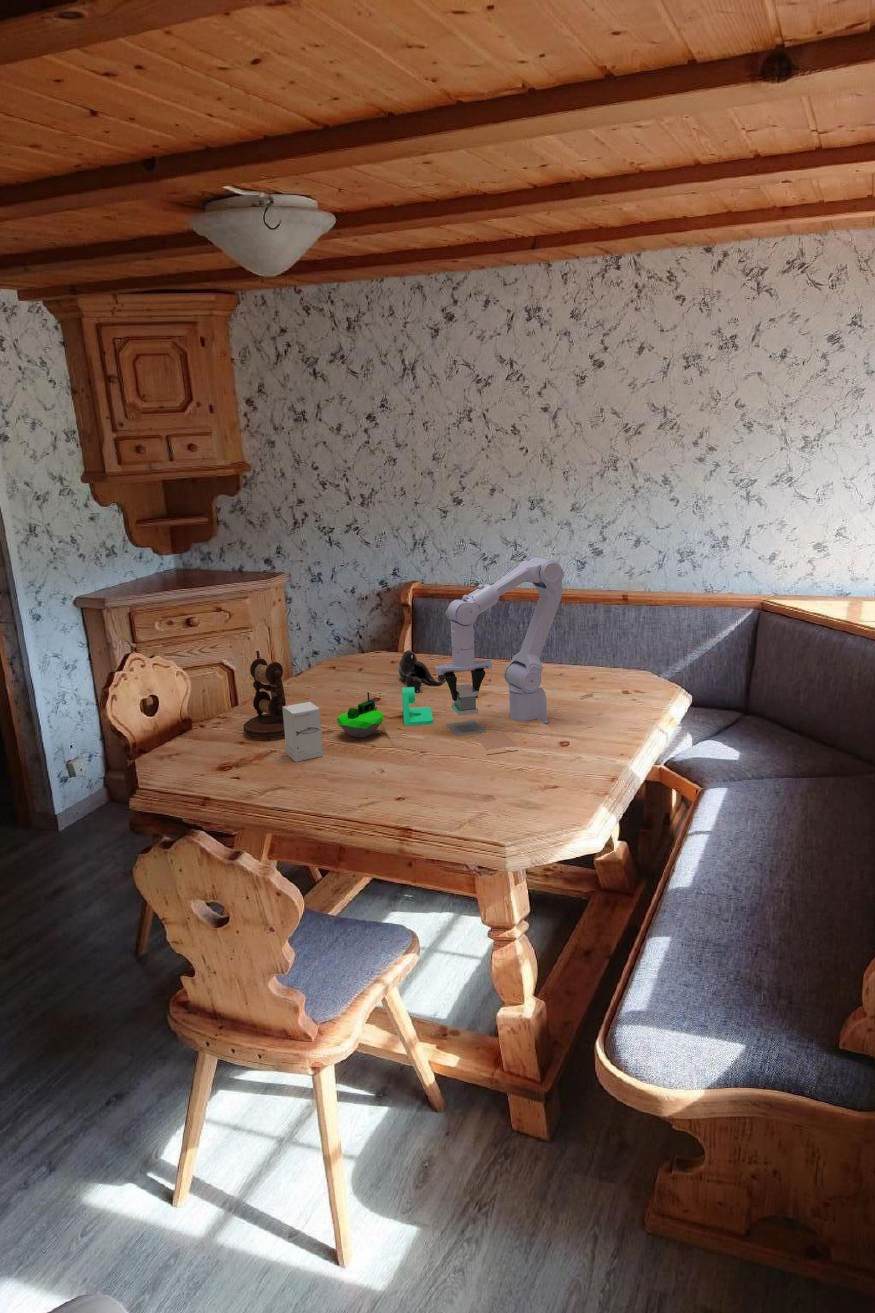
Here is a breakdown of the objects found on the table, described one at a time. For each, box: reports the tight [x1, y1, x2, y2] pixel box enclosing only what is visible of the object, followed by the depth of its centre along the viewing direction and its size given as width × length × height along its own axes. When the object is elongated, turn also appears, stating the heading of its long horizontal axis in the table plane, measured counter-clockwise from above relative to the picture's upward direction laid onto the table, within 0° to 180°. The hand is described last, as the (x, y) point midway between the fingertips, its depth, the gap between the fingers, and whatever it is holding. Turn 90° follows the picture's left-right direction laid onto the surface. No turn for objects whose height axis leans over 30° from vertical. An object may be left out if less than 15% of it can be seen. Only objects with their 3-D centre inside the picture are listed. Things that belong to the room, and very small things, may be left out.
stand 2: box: [474, 732, 519, 756], centre depth 230 cm, size 8×10×2 cm
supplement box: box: [282, 701, 324, 763], centre depth 228 cm, size 7×7×13 cm
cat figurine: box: [397, 650, 446, 694], centre depth 285 cm, size 10×14×18 cm
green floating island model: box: [336, 691, 384, 739], centre depth 241 cm, size 12×12×11 cm
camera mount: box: [401, 686, 434, 727], centre depth 249 cm, size 12×8×10 cm, turn 4°
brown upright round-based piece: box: [242, 657, 287, 742], centre depth 245 cm, size 15×15×20 cm
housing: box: [451, 683, 479, 717], centre depth 238 cm, size 5×7×6 cm
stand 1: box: [445, 719, 487, 737], centre depth 240 cm, size 8×10×2 cm
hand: (464, 698), depth 238 cm, fingers closed on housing, 5 cm apart
